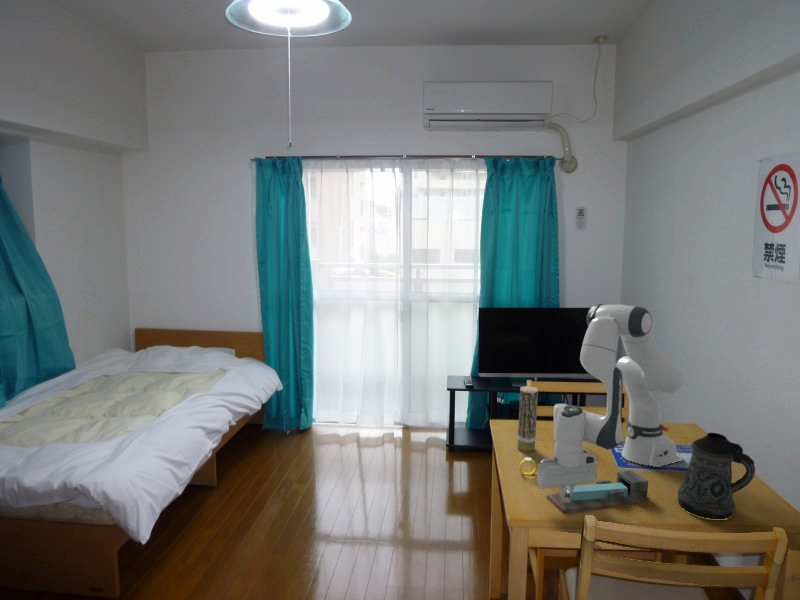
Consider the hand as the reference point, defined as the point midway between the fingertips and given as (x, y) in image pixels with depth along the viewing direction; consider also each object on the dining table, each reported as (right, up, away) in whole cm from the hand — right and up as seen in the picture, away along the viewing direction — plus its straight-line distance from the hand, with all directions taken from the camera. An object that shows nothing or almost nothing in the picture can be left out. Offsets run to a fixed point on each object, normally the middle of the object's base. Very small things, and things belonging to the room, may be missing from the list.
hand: (565, 496), depth 183 cm
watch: (-8, +1, +21) cm, 22 cm away
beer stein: (+46, -4, -1) cm, 46 cm away
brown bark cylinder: (-3, +4, +42) cm, 43 cm away
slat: (+11, -1, +4) cm, 12 cm away
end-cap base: (+12, -2, +3) cm, 12 cm away
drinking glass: (+13, +5, +51) cm, 53 cm away
